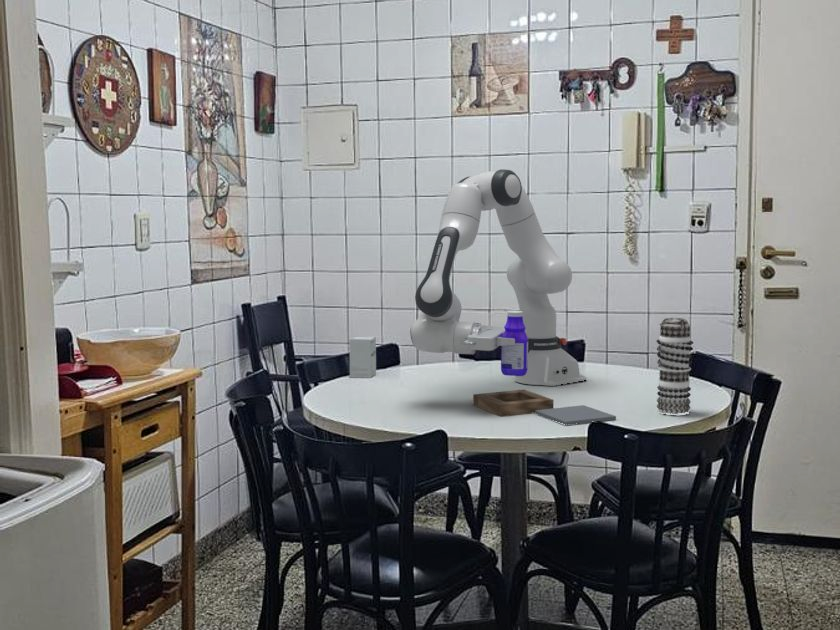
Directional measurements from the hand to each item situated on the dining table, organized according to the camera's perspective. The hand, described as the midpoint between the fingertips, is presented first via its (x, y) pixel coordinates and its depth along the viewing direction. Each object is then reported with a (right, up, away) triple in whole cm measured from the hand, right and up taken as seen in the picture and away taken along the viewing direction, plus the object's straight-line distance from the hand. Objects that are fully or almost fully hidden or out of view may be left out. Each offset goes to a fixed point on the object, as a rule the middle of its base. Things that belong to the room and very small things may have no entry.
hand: (517, 339), depth 255 cm
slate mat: (+14, -20, -9) cm, 26 cm away
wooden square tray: (-1, -19, +3) cm, 19 cm away
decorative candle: (+41, -19, -6) cm, 45 cm away
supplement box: (-45, -13, +54) cm, 72 cm away
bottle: (-1, -10, +1) cm, 10 cm away
